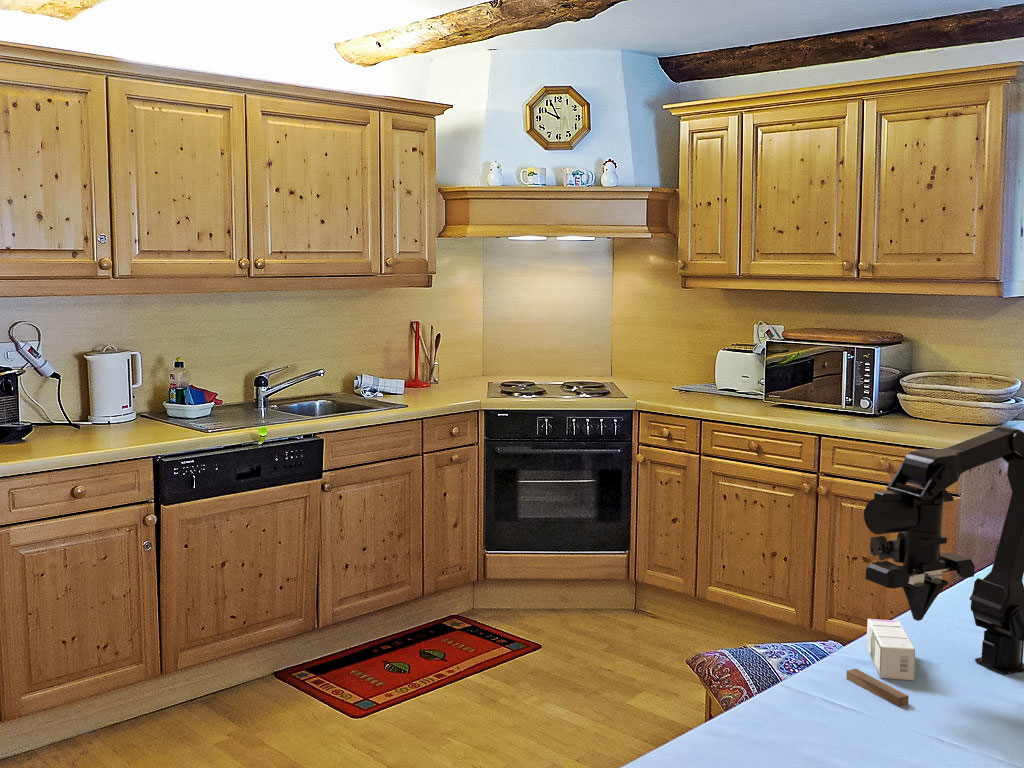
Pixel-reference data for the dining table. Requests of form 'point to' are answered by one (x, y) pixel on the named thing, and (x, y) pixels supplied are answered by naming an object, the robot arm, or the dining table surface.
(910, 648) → the syrup box
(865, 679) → the strip
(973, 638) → the dining table surface
